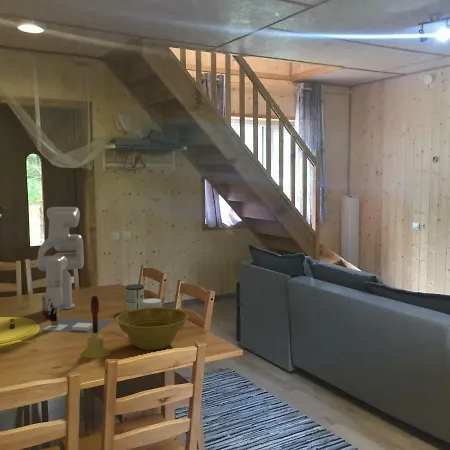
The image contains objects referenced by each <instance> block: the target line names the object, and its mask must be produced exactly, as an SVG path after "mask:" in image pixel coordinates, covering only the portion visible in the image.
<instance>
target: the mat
mask: <svg viewBox="0 0 450 450" xmlns="http://www.w3.org/2000/svg"><path fill="white" fill-rule="evenodd" d="M112 322H113V320H109V319H108V320H107V319H106V320H105V319H98V332H100V331H101V330H102V329H104V328H105V327H106V326H108V325H109V324H111V323H112ZM77 323H93V319H92V318H91V319H87V318H86V319H85V318H67V317H65V318H64V317H61V324H60V325H68V326H67V327H66V328H64V329H62V330H61V331H60V332H63V333H78V334H79V333H81V334H82V333H83V334H85V333H86V334H92V333H93V328H92V329H90V330H89V331H88V332H87V331H72V326H74V325H75V324H77ZM42 331H47V332H52V331H51V330H43V329H42Z"/></svg>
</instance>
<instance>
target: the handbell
mask: <svg viewBox="0 0 450 450" xmlns="http://www.w3.org/2000/svg"><path fill="white" fill-rule="evenodd" d="M99 312H100V302H99V298H98V295H92V296H91V300H90V313H91V315H92V318H91V319H92V320H93V333H91V335H90V336H88V338H87V346H86V348H85V349H84V350H82V351H81V353H80V355H81V357H82V358H87V359H98V358H99V359H100V358H101V359H102V358H105V357H107V356H109V355H110V354H111V350H110V349H109V348H107V347H106V346H105V344H104V337H103V336H102V335H101V334H99V331H98V320H99V319H98V318H99V316H98V315H99Z"/></svg>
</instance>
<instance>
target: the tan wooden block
mask: <svg viewBox="0 0 450 450" xmlns="http://www.w3.org/2000/svg"><path fill="white" fill-rule="evenodd" d="M51 307H53V306H51ZM52 309H53V310H54V308H52ZM56 313H57V321H50V325H51V326H58V325H60V324H61V318H62V316H61V317H60V305H59V306H57V307H56Z"/></svg>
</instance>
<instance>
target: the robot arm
mask: <svg viewBox="0 0 450 450" xmlns="http://www.w3.org/2000/svg"><path fill="white" fill-rule="evenodd" d="M46 216H47V219H48V221H49V222H48V236H47V239H45V240H44V241H43V242H42V243H41V245H40V246H39V249H38V253H37V267H38V270H39V271H41V272H45V277H46V278H45V279H46V280H45V281H46V283H45V284H46V290H45V295H46V298H45V306H46V307H48V308H47V310H48V311H49V313H50V319H49V320H50V321H49V322H51V321H57V313H56V307H57V306H59V305H60V317H61V318H62V316H61V313H62V311H63V310H70V309H73V308H75V306H76V305H75V303H73V296H72V295H73V290H72V285H73V284H72V276H71V275H72V274H70V273H69V271H68V270H79V269H82V268H83V267H84V265H85V254H84V251H85V250H84V240H83V237H82V235H80V234H78V233H77V234H76V233H74V234H70V228H77V227H78V225H79V222H80V218H81V213H80V210H79V208H78V207H77V206H54V207H48V208H47V210H46ZM52 248H54V249H55V251H58V253H54V254H53V255H45V253H46V252H47V251H48V250H50V249H52ZM51 306H53V307H51ZM52 308H54V310H53V309H52Z"/></svg>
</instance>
